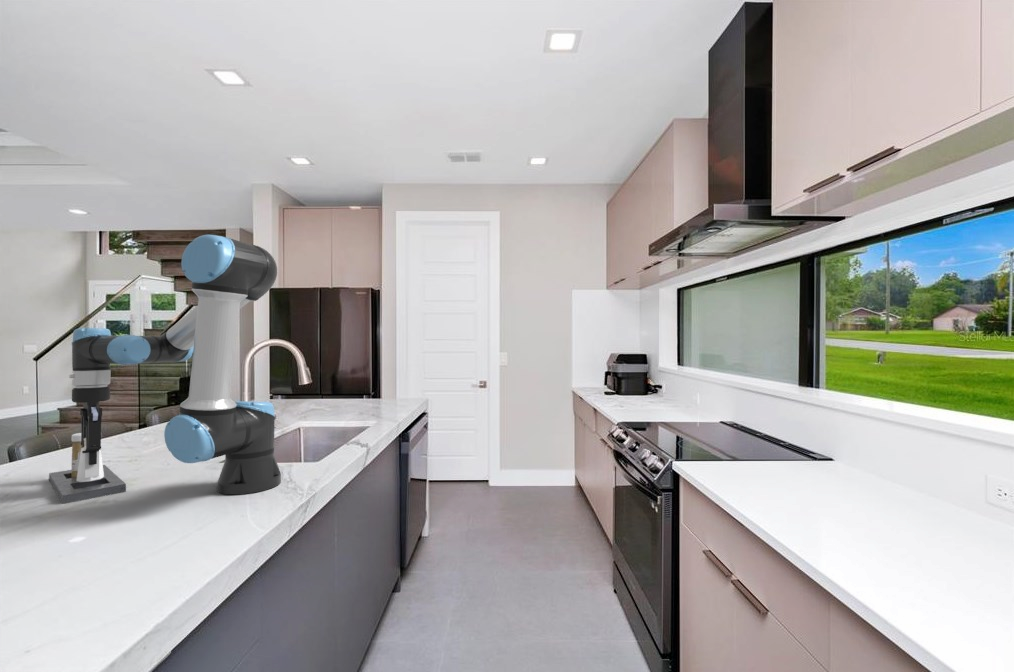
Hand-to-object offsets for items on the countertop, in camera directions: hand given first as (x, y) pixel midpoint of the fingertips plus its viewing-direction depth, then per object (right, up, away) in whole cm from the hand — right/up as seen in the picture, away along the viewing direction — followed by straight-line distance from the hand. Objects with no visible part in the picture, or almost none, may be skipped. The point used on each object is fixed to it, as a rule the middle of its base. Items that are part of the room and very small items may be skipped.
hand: (90, 474), depth 121 cm
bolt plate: (-5, -4, +4) cm, 8 cm away
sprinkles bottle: (-11, -5, +9) cm, 15 cm away
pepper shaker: (0, -1, 0) cm, 1 cm away
